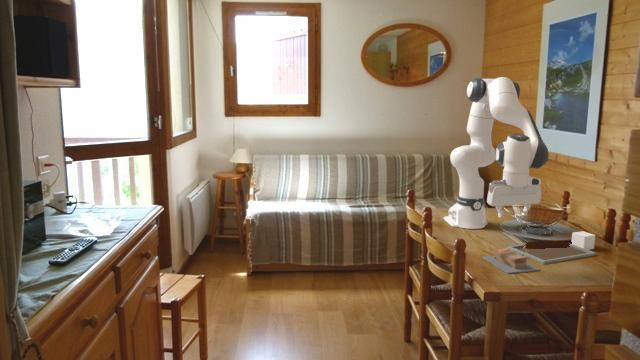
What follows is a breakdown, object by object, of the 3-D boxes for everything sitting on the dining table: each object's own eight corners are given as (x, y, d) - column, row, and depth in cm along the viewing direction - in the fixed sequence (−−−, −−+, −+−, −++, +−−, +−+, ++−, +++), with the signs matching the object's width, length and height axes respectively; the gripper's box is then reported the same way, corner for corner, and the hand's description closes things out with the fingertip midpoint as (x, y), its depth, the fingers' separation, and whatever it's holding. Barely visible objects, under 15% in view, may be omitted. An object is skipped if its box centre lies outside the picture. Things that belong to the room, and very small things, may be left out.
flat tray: (596, 252, 191) (538, 262, 180) (596, 256, 191) (538, 266, 180) (557, 239, 208) (501, 247, 198) (556, 242, 209) (501, 251, 198)
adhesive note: (581, 244, 204) (582, 231, 203) (593, 249, 199) (595, 235, 198) (570, 246, 202) (572, 232, 201) (583, 250, 197) (584, 236, 196)
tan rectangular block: (525, 266, 177) (526, 257, 176) (514, 268, 175) (515, 258, 175) (504, 257, 187) (505, 247, 187) (494, 258, 186) (495, 249, 185)
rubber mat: (481, 257, 188) (481, 256, 188) (511, 255, 191) (511, 254, 191) (507, 273, 172) (507, 272, 172) (539, 270, 175) (539, 269, 175)
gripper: (494, 182, 170) (491, 220, 173) (545, 180, 175) (542, 217, 177) (484, 179, 176) (482, 215, 179) (534, 177, 181) (531, 212, 183)
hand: (512, 216), depth 178 cm, fingers open, 8 cm apart
